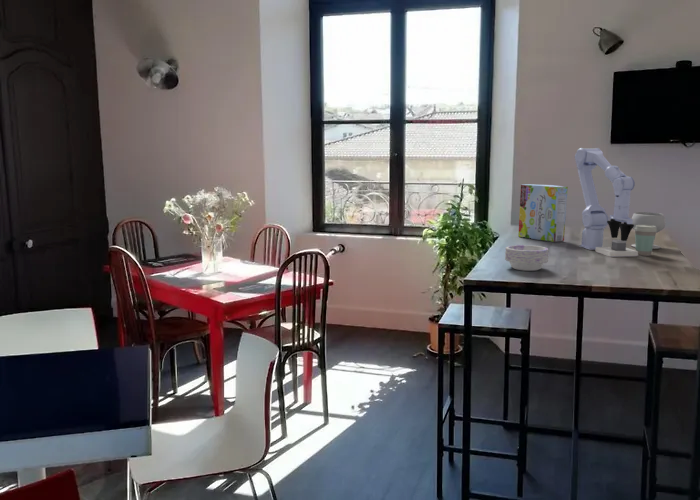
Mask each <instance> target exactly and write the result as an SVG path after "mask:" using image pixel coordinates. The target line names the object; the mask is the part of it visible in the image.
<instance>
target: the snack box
mask: <svg viewBox="0 0 700 500" xmlns="http://www.w3.org/2000/svg"><path fill="white" fill-rule="evenodd" d="M519 198H520V199H519V213H518V215H519V219H518V236H519V238H523V237H525V238H524V239H530V238H531V240H538V241H543V242H545V241H546V242H552V243H555V242H556V243H557V242H564V241H565V232H566V218H567V216H566V215H567V201H568V199H567V198H568V186H566V185H565V186H562V185H553V184H533V183H532V184H530V183H528V184H525V183H524V184H523V183H522V184H520V197H519Z"/></svg>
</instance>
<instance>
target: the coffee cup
mask: <svg viewBox="0 0 700 500" xmlns="http://www.w3.org/2000/svg"><path fill="white" fill-rule="evenodd" d="M656 232H657V229H656V226H652V225H636V227H635V230H634V237H635V238H634V240H635V242H634V244H636V247H635V251H638V256H644V257H648V256H649V257H650V256H652V253H653V250H654V249H653V245H655V238H656V234H657V233H658V232H657V233H656Z"/></svg>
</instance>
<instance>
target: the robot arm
mask: <svg viewBox="0 0 700 500" xmlns="http://www.w3.org/2000/svg"><path fill="white" fill-rule="evenodd" d="M575 152H576V153H575V155H574V161H575V164H576V169H577V173H578V178H579V183H580V186H581V187H580V188H581V190H582V195H583V200H584V204H585V209H583V210H582V212H581V216H582V219H581V221H582V225H583V227H584V228H583V230H582V232H581V234H582V235H581V244H580V245H579V248H582V249H583V248H584V249H585V250H589V251H590V250H595V251H596V247H604V243H603V242H604V231H605V229H606V227H607V226H608V227H609V231H610V235H611V238H612V239H617V238H618V237H619V236H618V235H619V231H620V240H621V241H626V242H627V241H628V239H629V235H630V234H631V231H632V229H633V227H634V224H633V219H632V217H629V214H630V205H631V194H632V193H631V191H633V190H634V188H635V186H636V185H635V184H636V182H635V179H634V177H633V176H628V175H626V173H624V172H623V170H621V169H620V167H619V166H618V165H612V164H611V163H610V162H609V161H608V159H607V158H606V157H605V156H604V152H603V151H602V150H601V149H600V147H595V148H590V147H589V148H588V147H587V148H583V147H580V148H578V149H577V150H576V151H575ZM597 166H598V167H600V169H601V170H603V172H604V176H605V178H607V179H608V181H610V182H611V183H612V188H613V194H614V205H613V206H614V208H613V214H609V215H608V213H606V209H605V208H604V207H603V206H601V205H600V203H599V198H598V193H597V190H596V185H595V182H594V179H593V178H594V177H593V173H592V171H593V170H594V169H595V168H596V167H597ZM619 229H620V230H619Z"/></svg>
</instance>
